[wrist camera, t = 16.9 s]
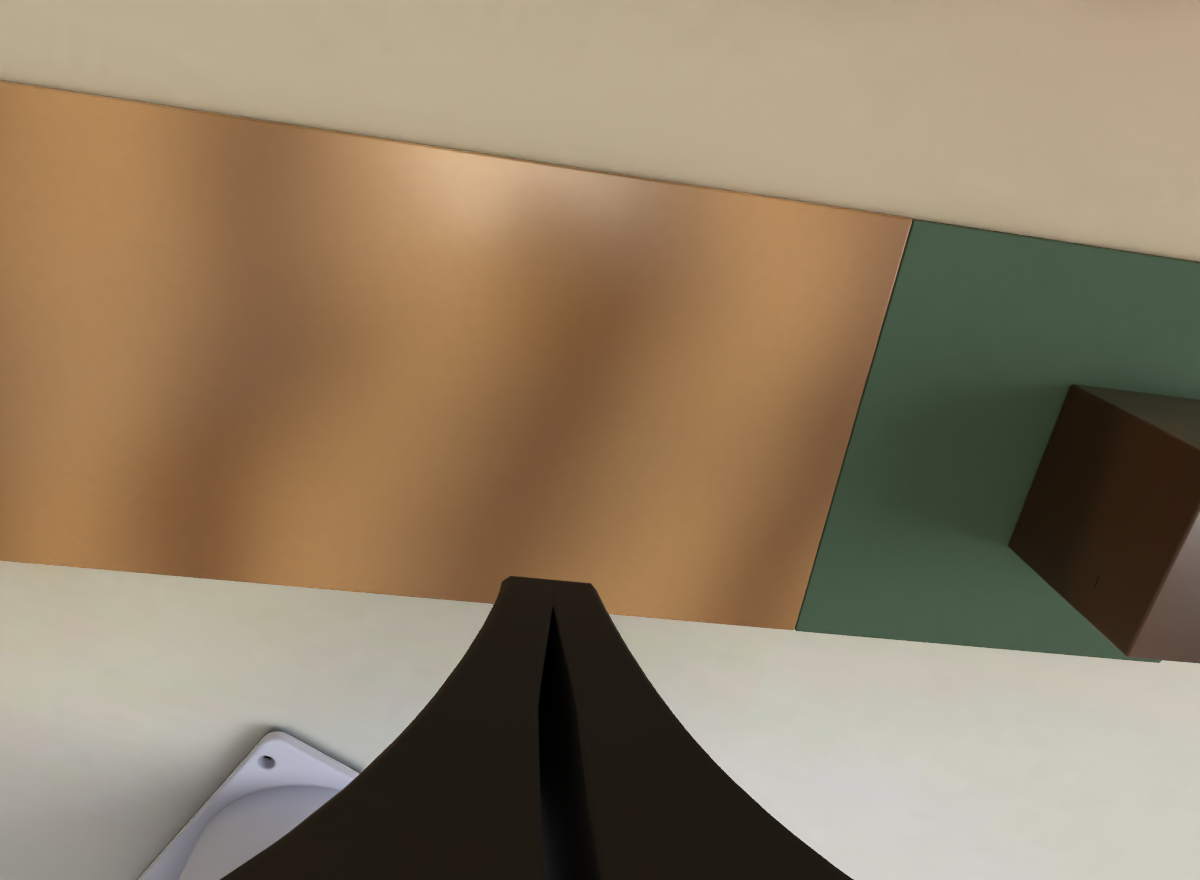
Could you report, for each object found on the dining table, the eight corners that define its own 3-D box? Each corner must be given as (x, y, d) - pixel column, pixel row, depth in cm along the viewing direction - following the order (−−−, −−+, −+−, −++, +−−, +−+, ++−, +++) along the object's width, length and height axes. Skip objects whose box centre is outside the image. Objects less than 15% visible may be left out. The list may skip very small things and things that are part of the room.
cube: (1006, 546, 22) (1125, 658, 18) (1070, 382, 20) (1222, 460, 16) (1163, 562, 23) (1319, 674, 18) (1239, 404, 21) (1434, 484, 16)
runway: (-401, 516, 20) (-420, 524, 19) (-607, -12, 15) (-634, -15, 15) (791, 623, 23) (794, 631, 23) (906, 217, 19) (913, 219, 18)
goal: (791, 623, 23) (795, 631, 23) (906, 218, 19) (913, 219, 18) (1151, 655, 25) (1160, 663, 24) (1339, 283, 20) (1353, 286, 20)
